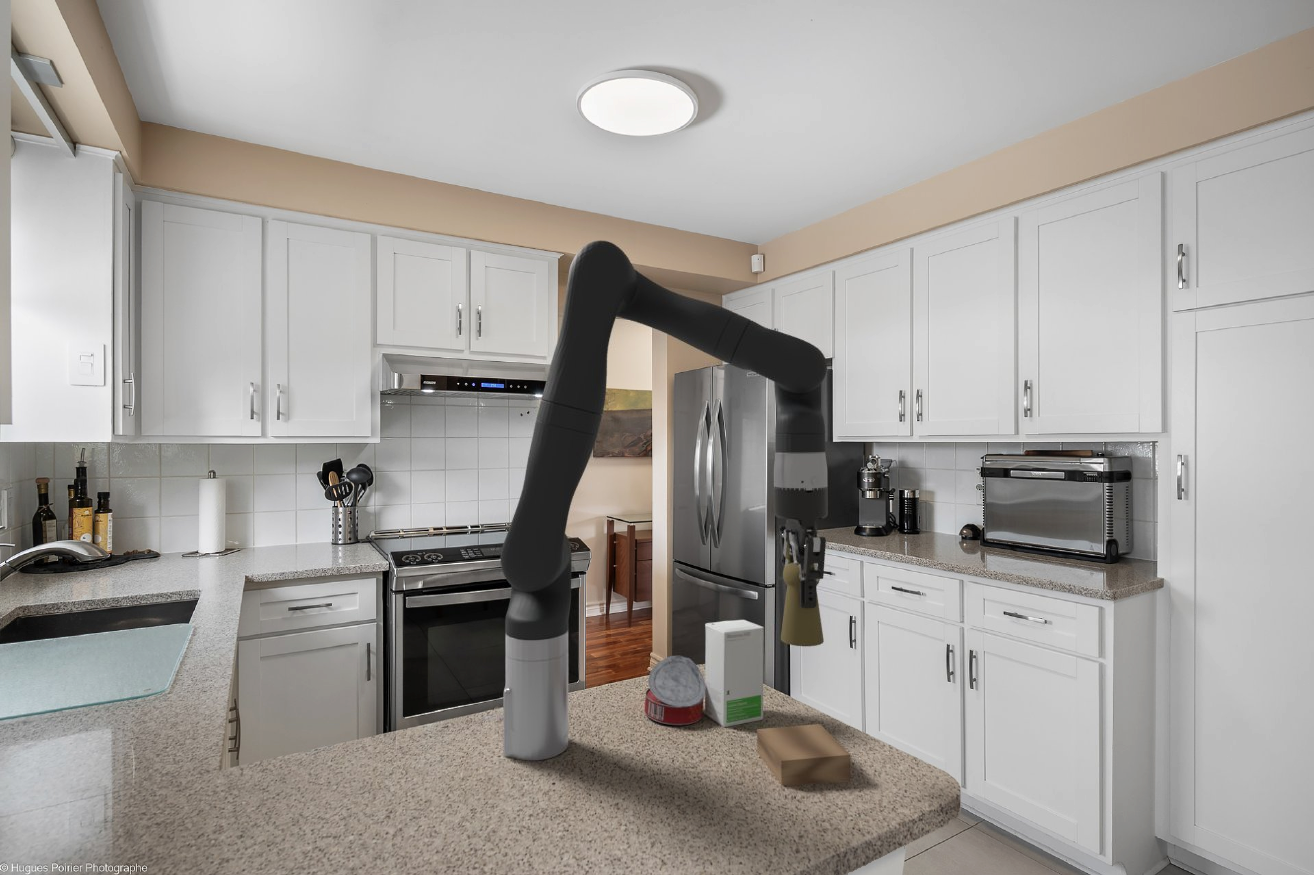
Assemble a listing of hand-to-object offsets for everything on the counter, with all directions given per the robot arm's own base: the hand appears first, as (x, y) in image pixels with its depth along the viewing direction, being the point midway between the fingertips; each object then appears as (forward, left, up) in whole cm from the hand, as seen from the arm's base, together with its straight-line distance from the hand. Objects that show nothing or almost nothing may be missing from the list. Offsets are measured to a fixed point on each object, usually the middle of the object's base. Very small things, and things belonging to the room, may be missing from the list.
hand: (801, 601), depth 96 cm
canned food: (-18, +20, -24) cm, 37 cm away
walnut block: (0, 0, -24) cm, 24 cm away
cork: (0, 0, -6) cm, 6 cm away
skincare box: (-6, +18, -24) cm, 31 cm away
